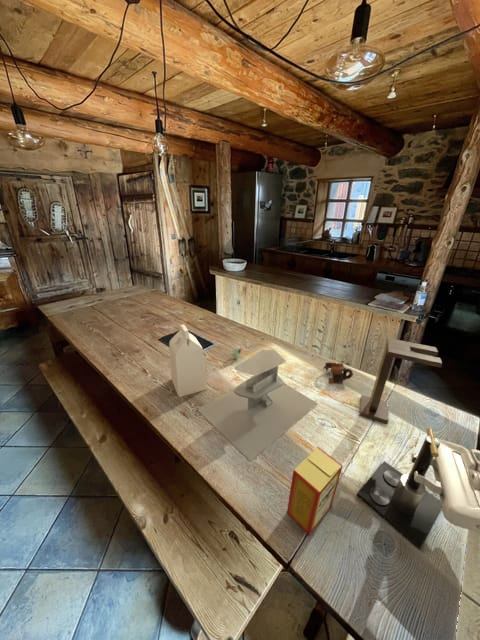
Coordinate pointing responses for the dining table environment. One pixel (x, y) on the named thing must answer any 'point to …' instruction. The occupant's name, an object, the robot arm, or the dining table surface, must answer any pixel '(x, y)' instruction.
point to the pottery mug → (338, 372)
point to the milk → (187, 363)
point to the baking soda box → (313, 489)
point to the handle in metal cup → (407, 487)
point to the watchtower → (257, 406)
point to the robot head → (236, 352)
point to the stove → (380, 500)
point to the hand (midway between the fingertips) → (413, 466)
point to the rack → (397, 349)
